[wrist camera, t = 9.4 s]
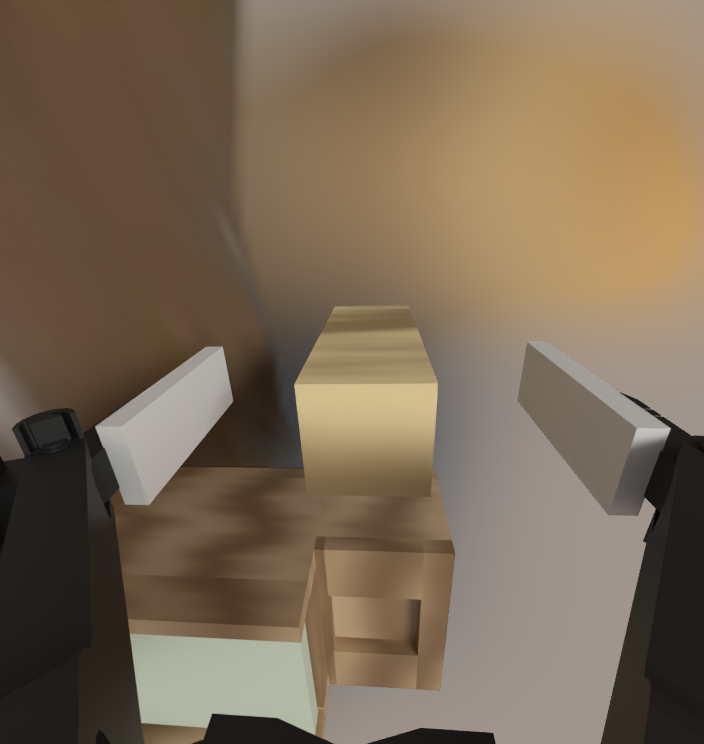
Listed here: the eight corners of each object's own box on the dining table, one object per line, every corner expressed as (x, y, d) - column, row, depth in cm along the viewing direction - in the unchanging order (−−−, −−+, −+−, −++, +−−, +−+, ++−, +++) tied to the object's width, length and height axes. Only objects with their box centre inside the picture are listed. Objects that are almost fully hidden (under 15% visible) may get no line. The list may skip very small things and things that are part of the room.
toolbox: (84, 578, 30) (-47, 737, 20) (27, 464, 25) (-176, 604, 16) (426, 592, 27) (451, 777, 18) (435, 469, 23) (474, 636, 14)
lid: (-23, 688, 21) (-82, 757, 19) (-105, 589, 18) (-193, 655, 15) (318, 712, 20) (308, 790, 17) (302, 607, 16) (287, 685, 13)
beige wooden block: (334, 306, 19) (294, 384, 10) (408, 304, 19) (438, 383, 9) (338, 373, 20) (306, 494, 11) (406, 373, 20) (430, 497, 11)
